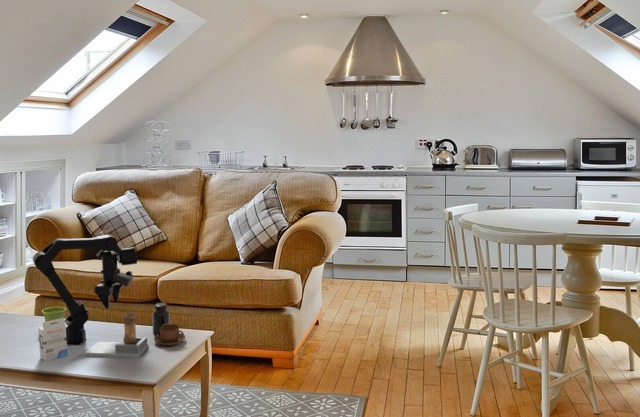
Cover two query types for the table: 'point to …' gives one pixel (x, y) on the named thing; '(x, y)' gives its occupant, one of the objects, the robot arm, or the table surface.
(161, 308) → the supplement bottle
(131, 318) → the bobbin
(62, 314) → the plant pot
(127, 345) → the board
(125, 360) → the table surface
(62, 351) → the ink box
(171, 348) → the table surface
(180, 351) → the table surface
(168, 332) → the cup and saucer
